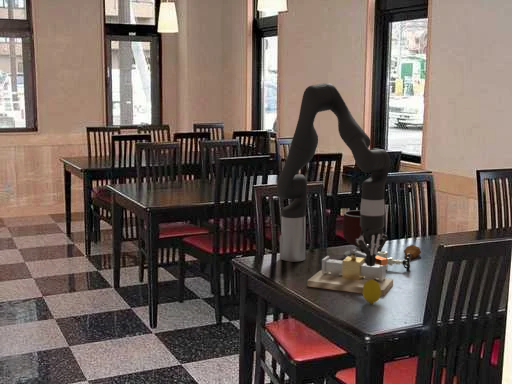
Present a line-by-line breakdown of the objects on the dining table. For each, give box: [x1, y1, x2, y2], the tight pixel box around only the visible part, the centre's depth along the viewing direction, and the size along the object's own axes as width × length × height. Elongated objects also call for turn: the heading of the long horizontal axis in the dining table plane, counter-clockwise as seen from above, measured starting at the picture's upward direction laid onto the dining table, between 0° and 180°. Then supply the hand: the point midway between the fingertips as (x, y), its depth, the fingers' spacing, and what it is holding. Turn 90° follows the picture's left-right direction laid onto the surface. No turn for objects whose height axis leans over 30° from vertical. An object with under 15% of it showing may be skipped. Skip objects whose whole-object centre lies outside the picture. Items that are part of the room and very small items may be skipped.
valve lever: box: [349, 248, 388, 266], centre depth 208 cm, size 17×3×2 cm, turn 30°
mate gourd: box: [342, 209, 366, 260], centre depth 248 cm, size 16×14×20 cm
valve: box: [376, 250, 412, 273], centre depth 229 cm, size 7×7×12 cm
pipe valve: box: [321, 254, 387, 281], centre depth 215 cm, size 21×6×8 cm, turn 65°
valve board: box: [307, 269, 394, 297], centre depth 212 cm, size 26×13×2 cm, turn 65°
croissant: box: [403, 244, 422, 261], centre depth 248 cm, size 14×7×5 cm, turn 156°
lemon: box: [362, 279, 381, 305], centre depth 194 cm, size 6×6×8 cm
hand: (370, 265), depth 202 cm, fingers closed
